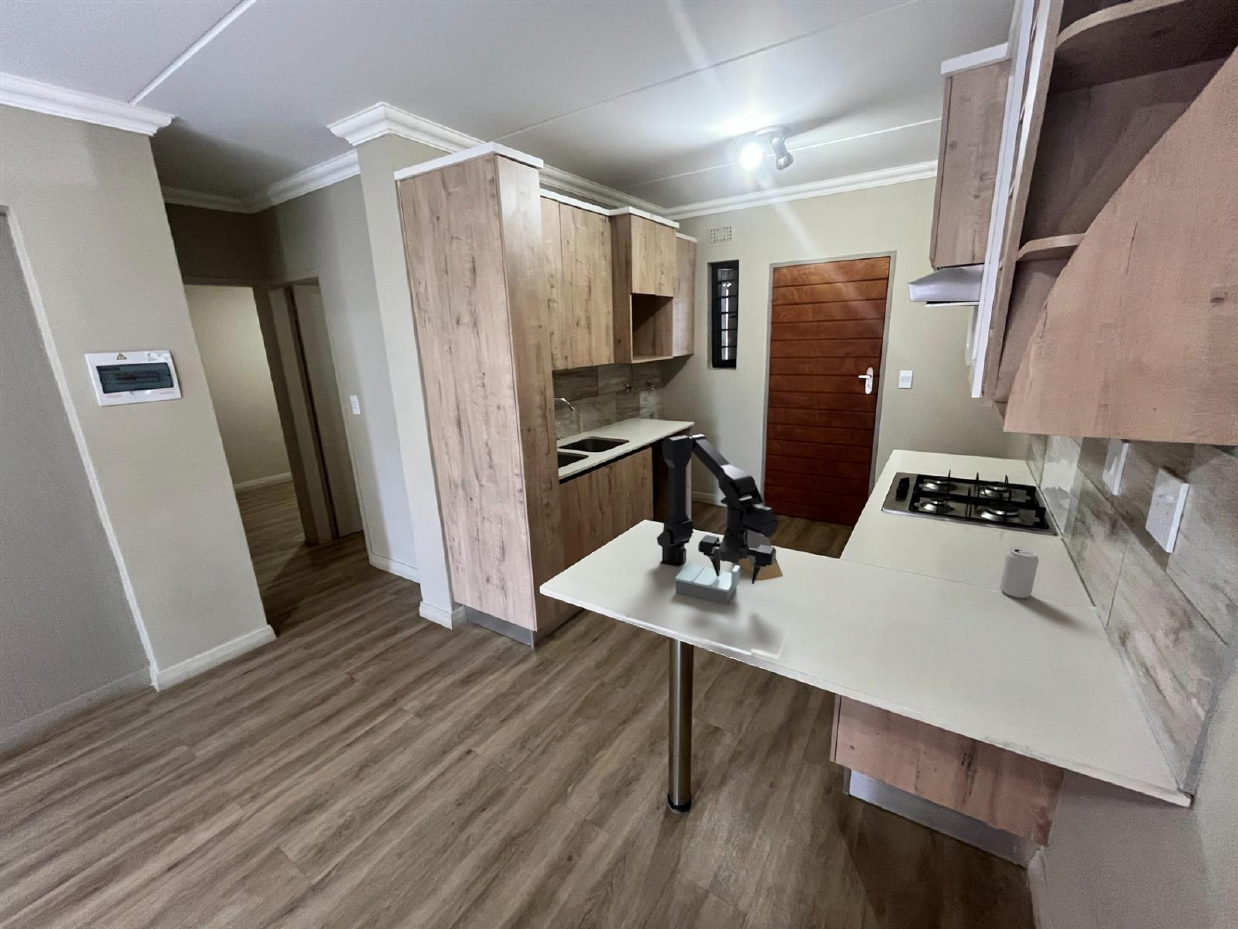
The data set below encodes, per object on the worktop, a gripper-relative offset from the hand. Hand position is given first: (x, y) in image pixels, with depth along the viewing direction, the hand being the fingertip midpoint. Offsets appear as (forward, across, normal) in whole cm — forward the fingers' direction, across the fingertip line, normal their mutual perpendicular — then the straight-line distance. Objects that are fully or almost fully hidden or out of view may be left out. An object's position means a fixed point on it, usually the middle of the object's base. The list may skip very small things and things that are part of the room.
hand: (735, 579), depth 125 cm
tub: (+6, -8, 0) cm, 10 cm away
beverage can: (+6, +64, +35) cm, 73 cm away
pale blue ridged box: (+2, -7, 0) cm, 7 cm away
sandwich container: (+6, +2, +20) cm, 21 cm away
